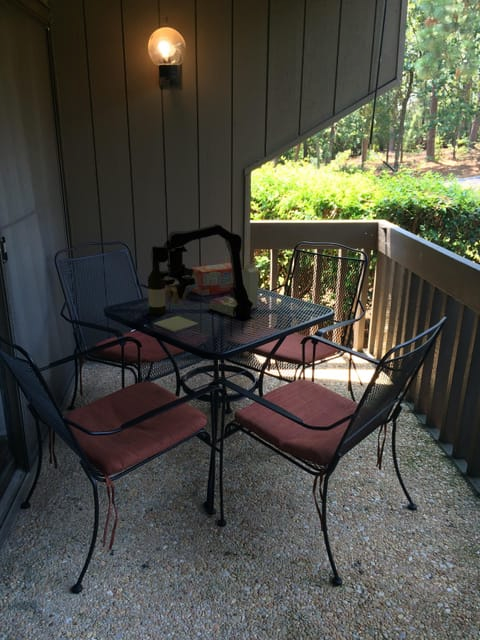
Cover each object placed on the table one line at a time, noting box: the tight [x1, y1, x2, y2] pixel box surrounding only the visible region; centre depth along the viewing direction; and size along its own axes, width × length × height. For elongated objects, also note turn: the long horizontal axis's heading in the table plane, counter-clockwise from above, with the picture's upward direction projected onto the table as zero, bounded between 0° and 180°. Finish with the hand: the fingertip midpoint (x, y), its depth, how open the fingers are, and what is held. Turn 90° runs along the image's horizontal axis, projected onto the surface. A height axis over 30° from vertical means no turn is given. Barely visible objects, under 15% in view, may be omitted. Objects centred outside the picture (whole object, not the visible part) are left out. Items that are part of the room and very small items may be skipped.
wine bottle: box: [147, 262, 167, 317], centre depth 228 cm, size 8×8×30 cm
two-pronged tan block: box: [165, 282, 187, 305], centre depth 215 cm, size 6×6×7 cm
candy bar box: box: [209, 295, 237, 318], centre depth 238 cm, size 11×5×16 cm
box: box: [189, 262, 243, 297], centre depth 270 cm, size 27×13×14 cm, turn 127°
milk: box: [242, 262, 260, 310], centre depth 241 cm, size 6×6×22 cm
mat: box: [152, 315, 199, 333], centre depth 218 cm, size 14×14×1 cm
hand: (176, 297), depth 215 cm, fingers closed on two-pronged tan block, 6 cm apart
